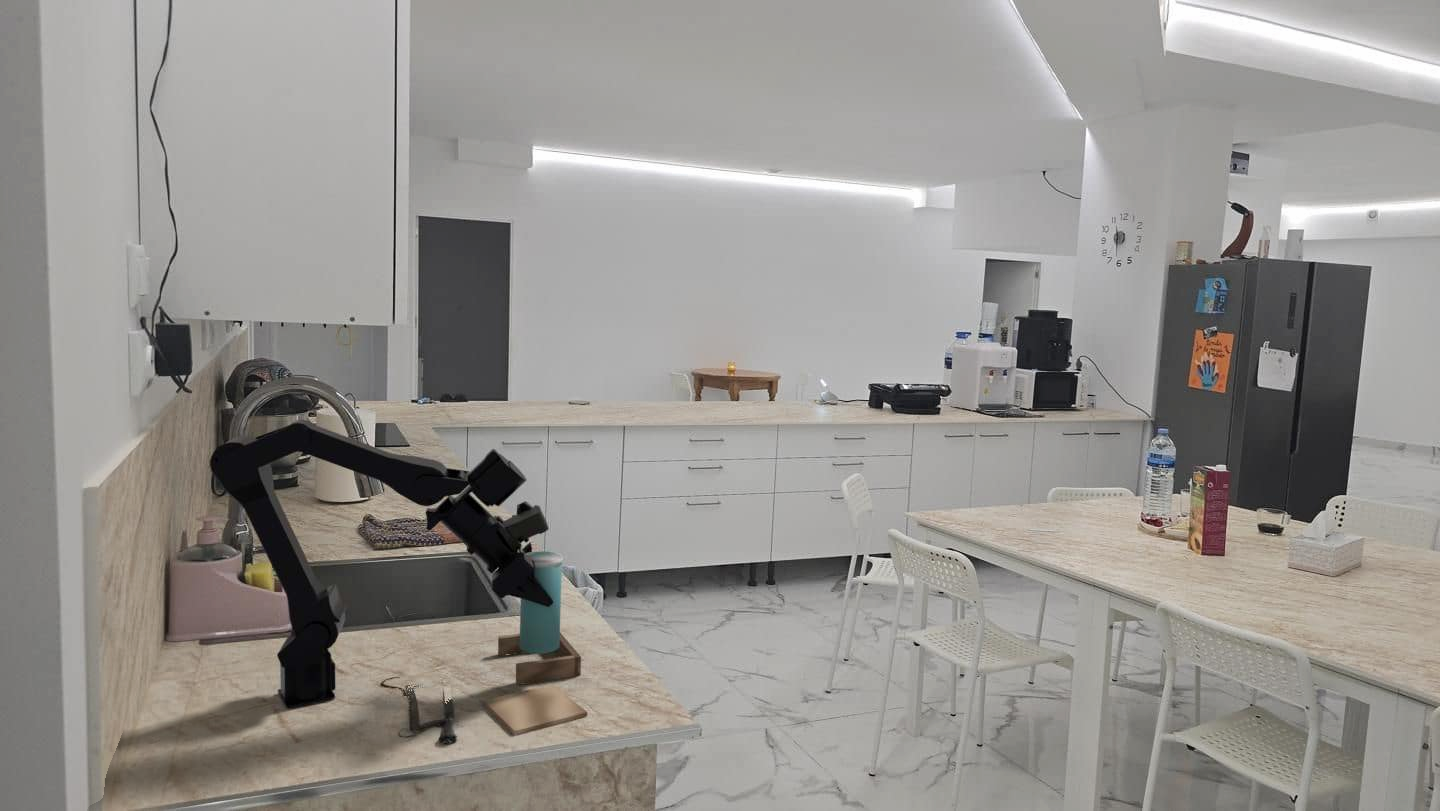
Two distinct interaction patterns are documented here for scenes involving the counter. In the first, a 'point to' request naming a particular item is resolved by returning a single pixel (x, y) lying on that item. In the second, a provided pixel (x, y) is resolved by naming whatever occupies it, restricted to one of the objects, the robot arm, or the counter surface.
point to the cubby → (542, 661)
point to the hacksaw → (415, 726)
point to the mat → (534, 709)
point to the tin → (541, 620)
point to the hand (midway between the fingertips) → (550, 597)
